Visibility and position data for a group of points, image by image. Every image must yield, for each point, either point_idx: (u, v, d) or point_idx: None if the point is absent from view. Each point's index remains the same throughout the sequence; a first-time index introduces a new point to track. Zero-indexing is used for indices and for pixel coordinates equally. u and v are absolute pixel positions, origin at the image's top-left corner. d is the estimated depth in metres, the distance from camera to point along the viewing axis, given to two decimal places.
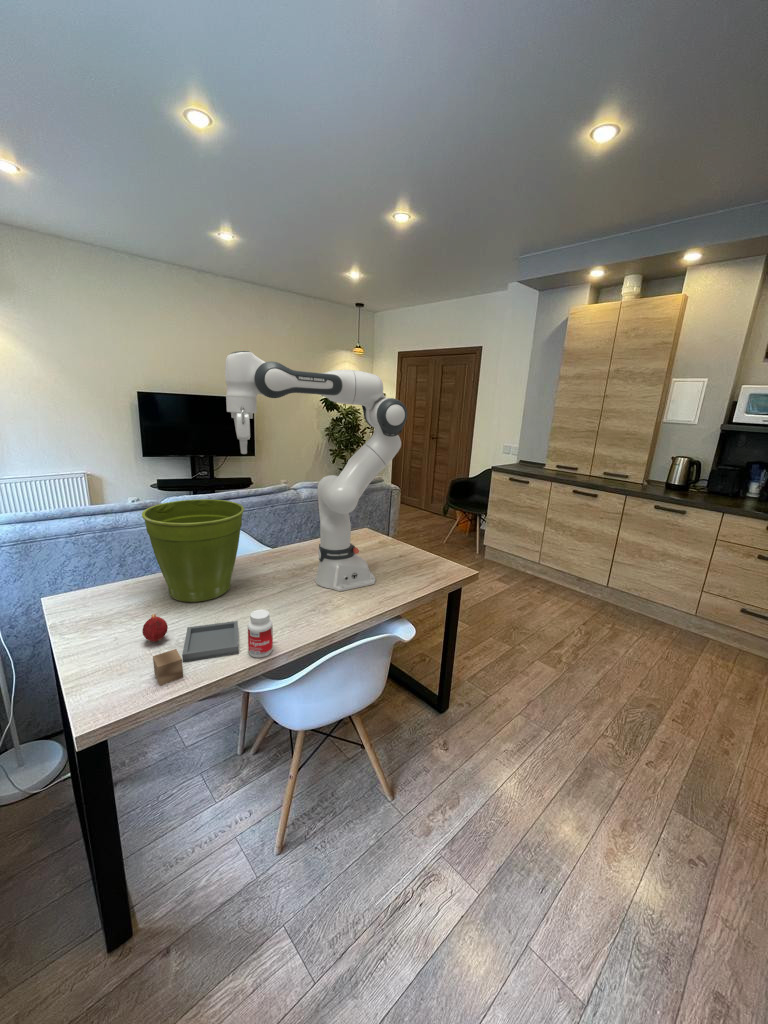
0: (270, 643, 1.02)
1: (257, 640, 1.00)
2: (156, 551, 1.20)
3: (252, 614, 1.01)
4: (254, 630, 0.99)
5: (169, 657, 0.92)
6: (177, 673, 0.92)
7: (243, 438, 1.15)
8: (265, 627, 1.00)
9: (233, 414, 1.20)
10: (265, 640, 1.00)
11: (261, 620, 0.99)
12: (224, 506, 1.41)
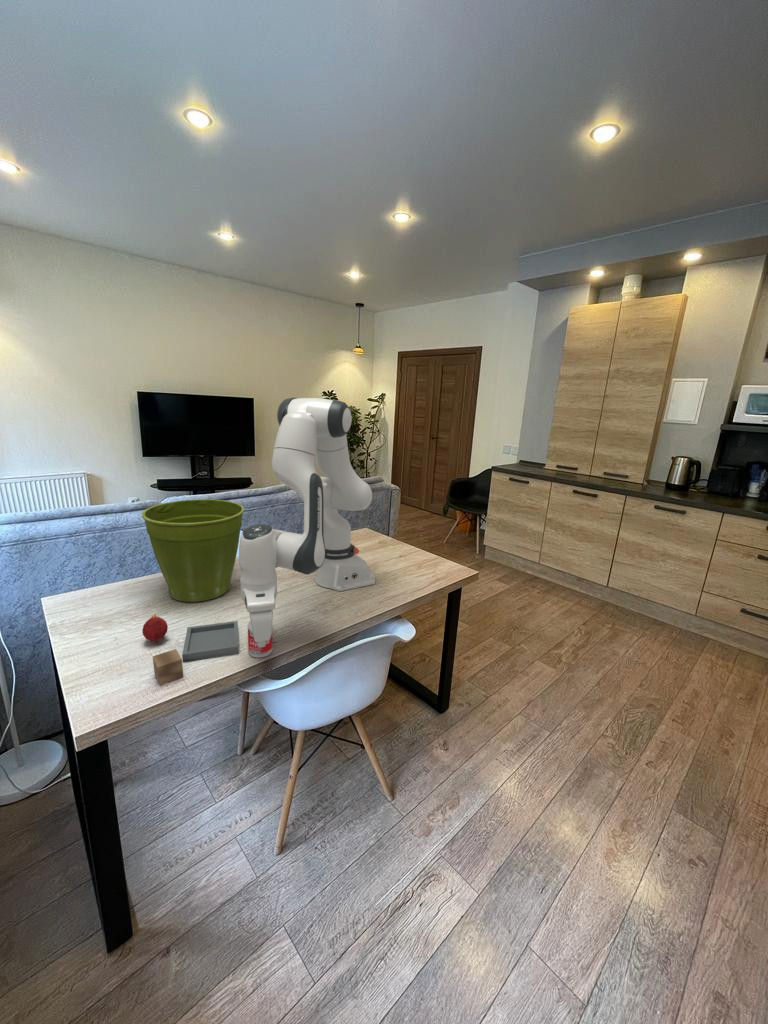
0: (270, 643, 1.02)
1: None
2: (156, 551, 1.20)
3: None
4: None
5: (169, 657, 0.92)
6: (177, 673, 0.92)
7: None
8: None
9: None
10: None
11: None
12: (224, 506, 1.41)
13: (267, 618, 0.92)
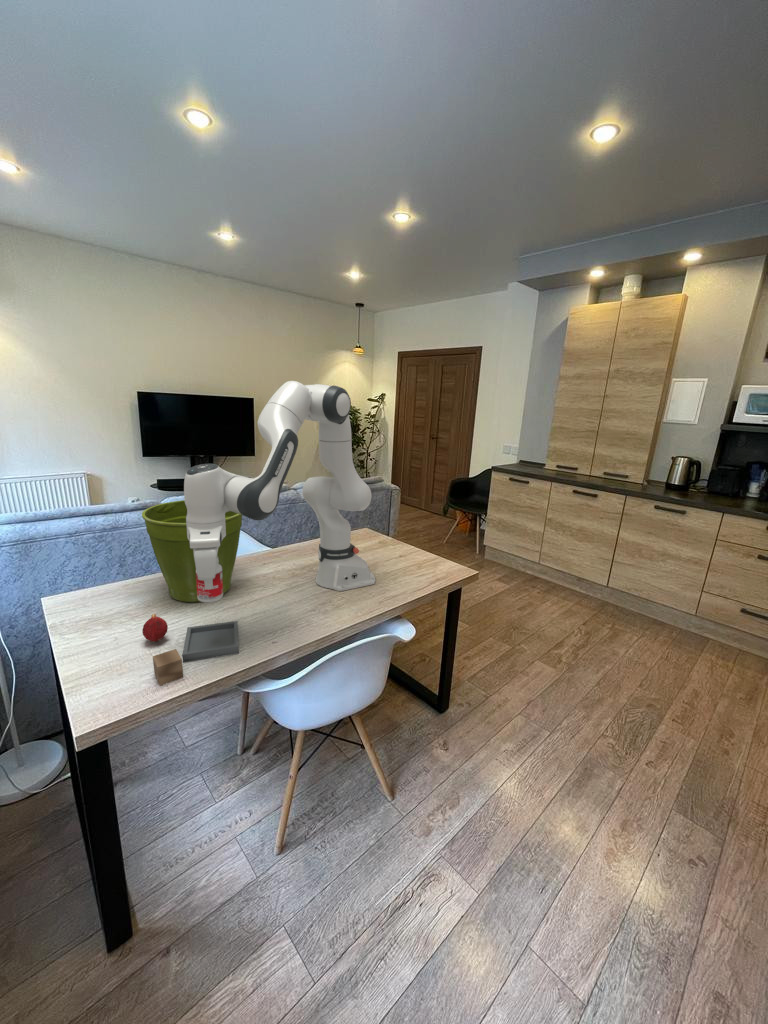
0: (219, 588, 1.00)
1: None
2: (156, 551, 1.20)
3: None
4: None
5: (169, 657, 0.92)
6: (177, 673, 0.92)
7: None
8: None
9: None
10: (213, 584, 0.99)
11: None
12: None
13: (211, 555, 0.90)
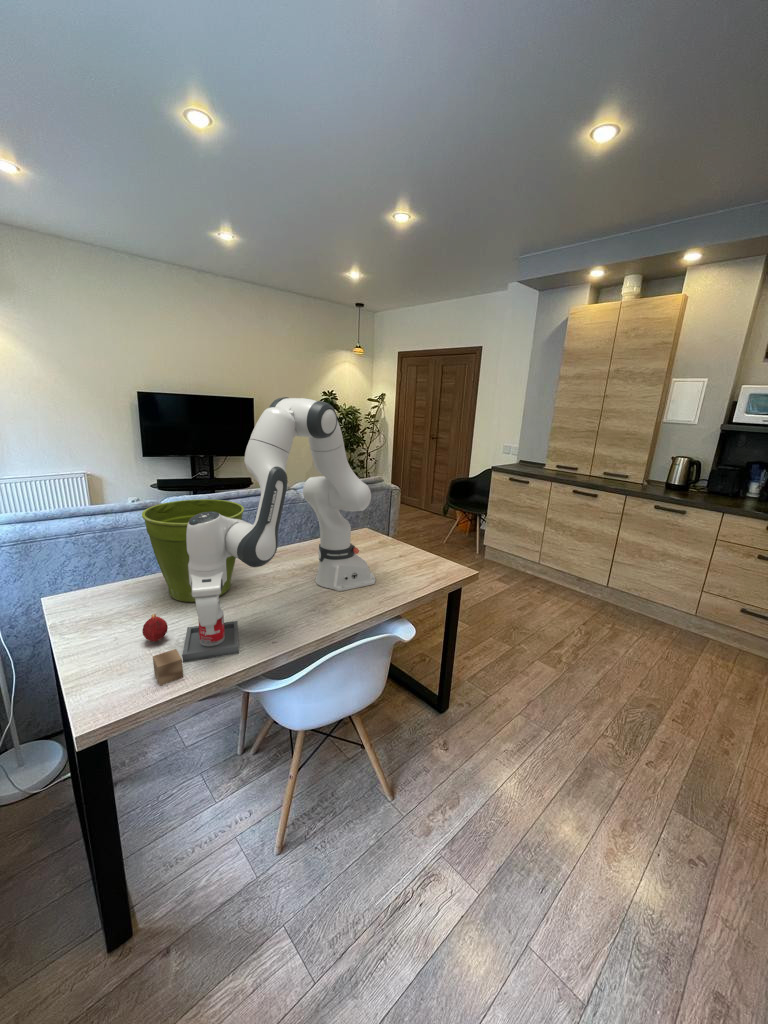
0: (220, 633, 1.04)
1: None
2: (156, 551, 1.20)
3: None
4: None
5: (169, 657, 0.92)
6: (177, 673, 0.92)
7: None
8: None
9: None
10: (215, 629, 1.02)
11: None
12: (224, 506, 1.41)
13: (212, 603, 0.94)
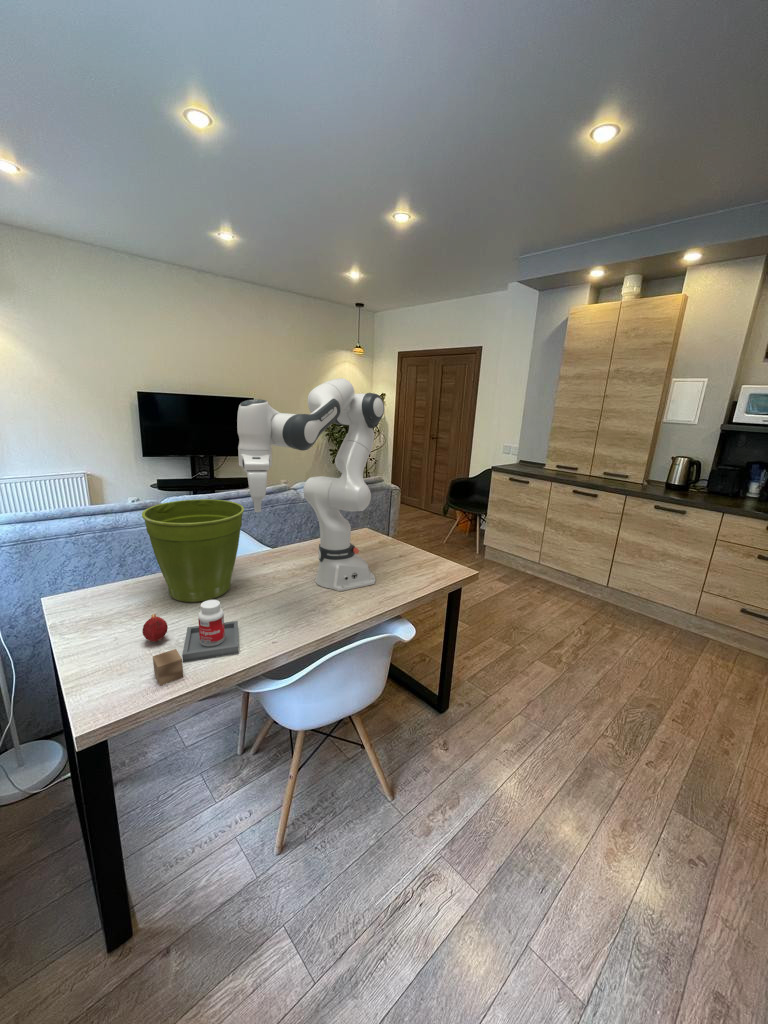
0: (220, 633, 1.04)
1: (207, 629, 1.01)
2: (156, 551, 1.20)
3: (202, 604, 1.02)
4: (204, 619, 1.01)
5: (169, 657, 0.92)
6: (177, 673, 0.92)
7: None
8: (215, 616, 1.02)
9: None
10: (215, 629, 1.02)
11: (211, 610, 1.01)
12: (224, 506, 1.41)
13: (262, 477, 1.03)
